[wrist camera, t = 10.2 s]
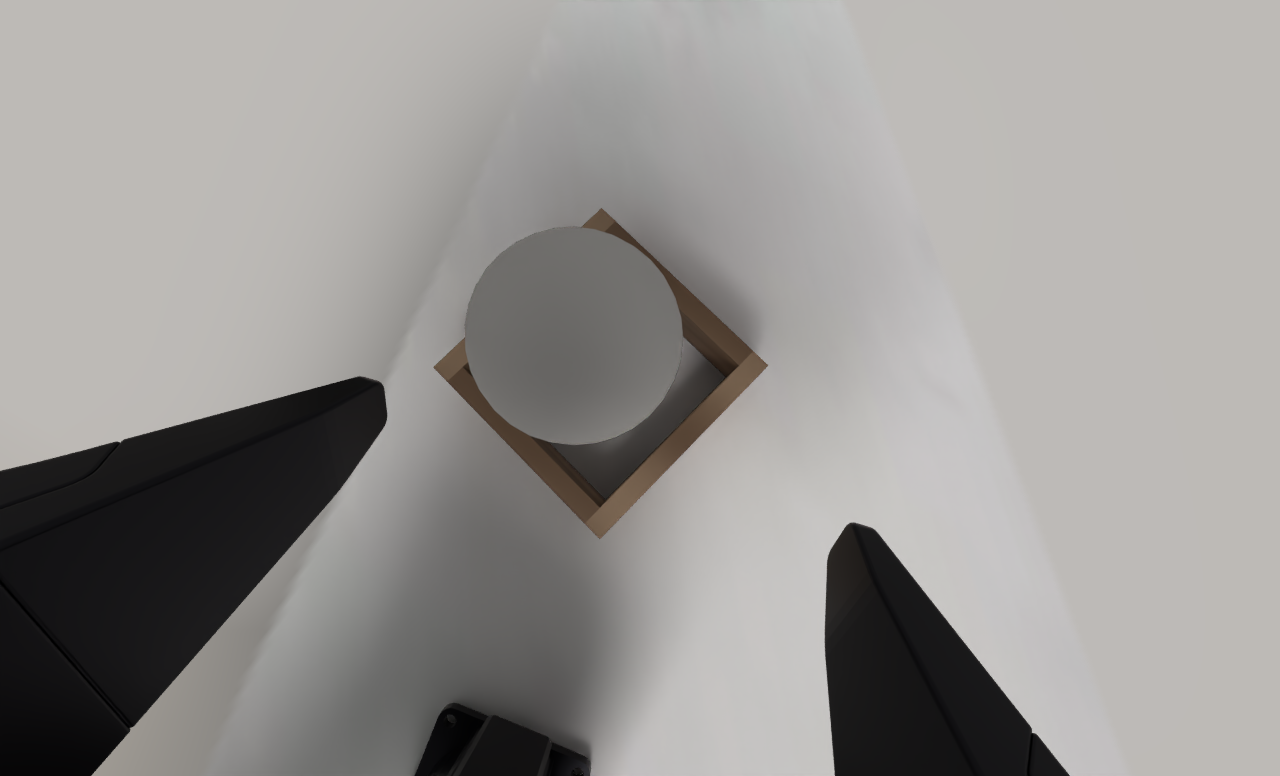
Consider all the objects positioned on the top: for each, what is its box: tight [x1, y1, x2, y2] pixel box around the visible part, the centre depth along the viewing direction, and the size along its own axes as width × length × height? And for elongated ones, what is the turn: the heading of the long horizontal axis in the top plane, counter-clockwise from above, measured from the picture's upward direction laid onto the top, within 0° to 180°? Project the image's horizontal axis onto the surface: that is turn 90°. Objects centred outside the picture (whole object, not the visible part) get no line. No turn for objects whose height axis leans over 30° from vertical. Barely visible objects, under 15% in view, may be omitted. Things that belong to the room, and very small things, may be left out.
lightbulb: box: [465, 227, 683, 445], centre depth 17 cm, size 6×6×11 cm
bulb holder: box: [434, 208, 768, 539], centre depth 21 cm, size 9×9×3 cm
